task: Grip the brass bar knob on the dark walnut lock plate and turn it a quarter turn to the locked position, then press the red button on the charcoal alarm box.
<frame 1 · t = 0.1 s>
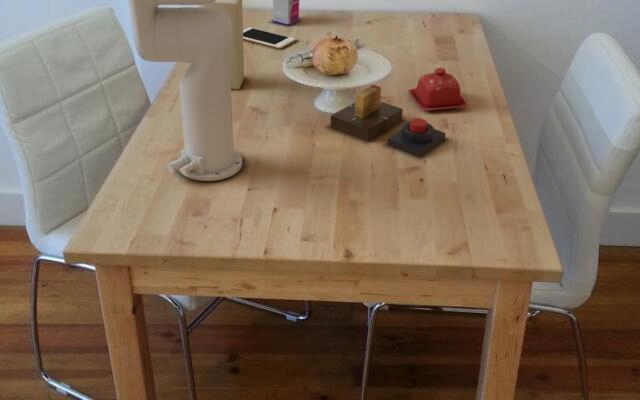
toy refrigerator: (226, 83, 181), on the table
alarm box: (416, 142, 157), on the table
cell phone: (264, 39, 206), on the table
lock plate: (366, 124, 164), on the table
butter dish: (436, 103, 174), on the table
alarm button: (418, 125, 155), point 4 cm above the table, slide at 0.1 cm
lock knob: (367, 100, 161), point 6 cm above the table, hinge at 0.0°
supplement box: (286, 22, 219), on the table
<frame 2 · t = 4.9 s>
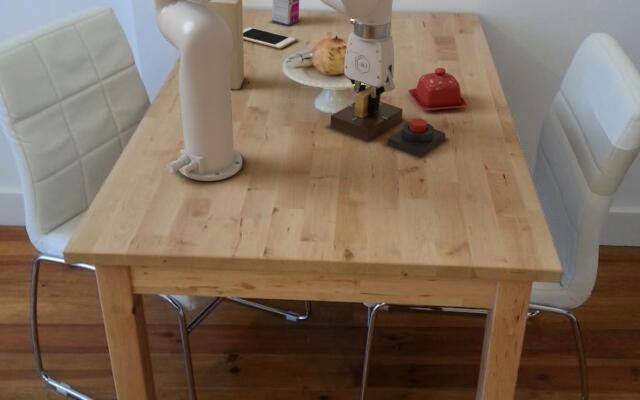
hand: (367, 109, 162), 4 cm above the table, tool pointing down, fingers closed on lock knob, 2 cm apart
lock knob: (367, 100, 161), point 6 cm above the table, hinge at 0.0°, touching gripper
everything else where it was.
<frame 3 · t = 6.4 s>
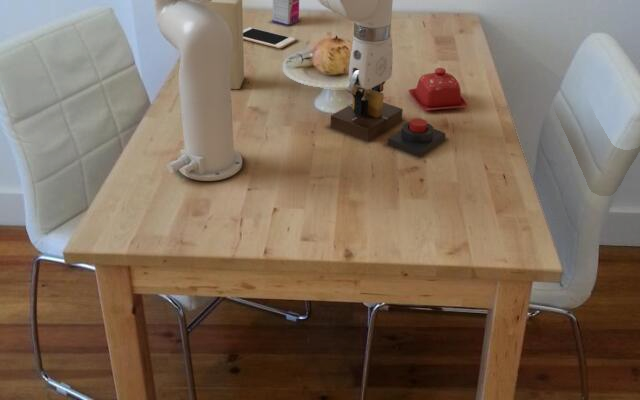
hand: (367, 110, 162), 3 cm above the table, tool pointing down, fingers open, 4 cm apart
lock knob: (367, 100, 161), point 6 cm above the table, hinge at 89.5°
everything else where it was.
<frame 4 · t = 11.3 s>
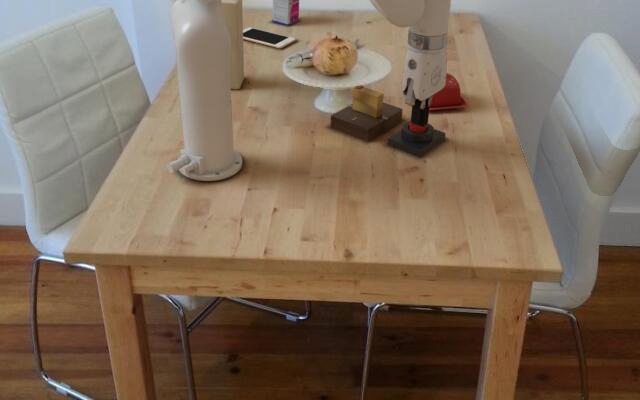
hand: (419, 123, 154), 5 cm above the table, tool pointing down, fingers closed
alarm button: (418, 127, 155), point 4 cm above the table, slide at -0.2 cm, touching gripper
everything else where it was.
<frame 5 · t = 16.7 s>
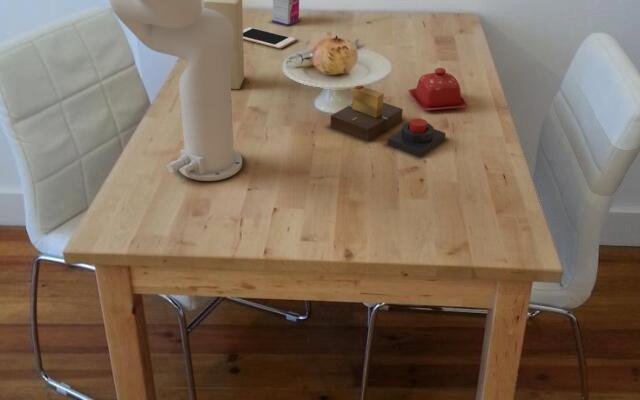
alarm button: (418, 125, 155), point 4 cm above the table, slide at 0.1 cm
everything else where it was.
at the end: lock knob at +90° (first picture: +0°); alarm button pushed in 1.2 cm at the most during the clip, back to where it started at the end; alarm button slide at 0.1 cm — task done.
